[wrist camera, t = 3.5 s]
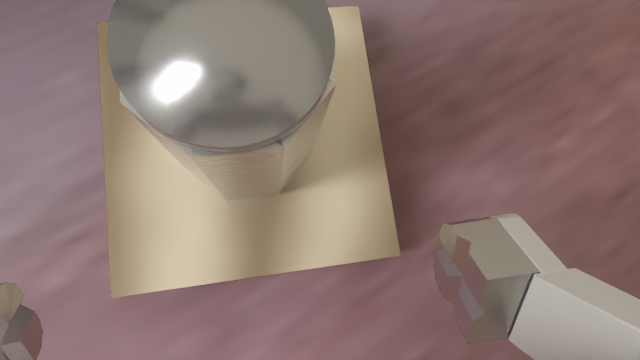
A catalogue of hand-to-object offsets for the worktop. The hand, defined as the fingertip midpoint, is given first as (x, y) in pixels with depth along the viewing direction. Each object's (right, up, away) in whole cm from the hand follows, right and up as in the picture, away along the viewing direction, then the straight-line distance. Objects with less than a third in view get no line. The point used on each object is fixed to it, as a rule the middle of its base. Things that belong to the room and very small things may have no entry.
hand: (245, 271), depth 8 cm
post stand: (-2, +3, +12) cm, 13 cm away
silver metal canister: (-2, +4, +10) cm, 11 cm away
